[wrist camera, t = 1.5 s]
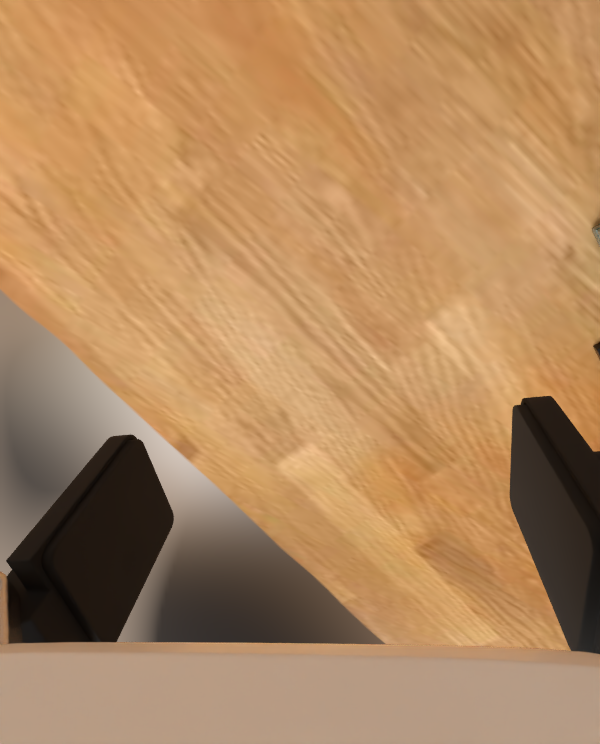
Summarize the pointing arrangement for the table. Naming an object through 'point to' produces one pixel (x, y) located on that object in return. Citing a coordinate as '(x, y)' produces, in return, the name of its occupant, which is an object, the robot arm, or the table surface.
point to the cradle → (597, 349)
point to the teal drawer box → (597, 233)
